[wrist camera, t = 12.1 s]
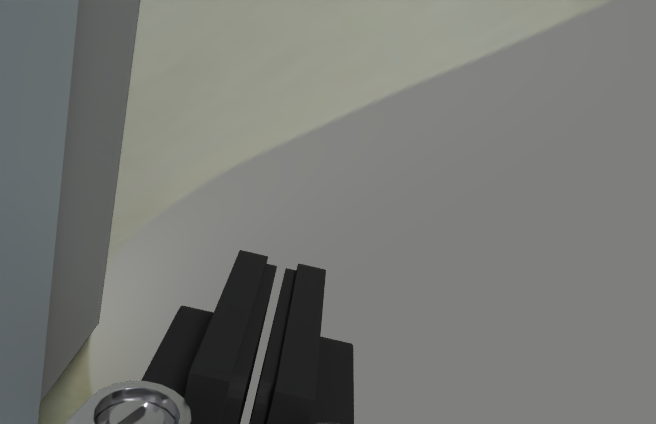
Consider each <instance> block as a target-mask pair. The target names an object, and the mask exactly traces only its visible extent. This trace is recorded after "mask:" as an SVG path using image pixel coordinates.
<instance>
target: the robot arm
mask: <svg viewBox="0 0 656 424" xmlns="http://www.w3.org/2000/svg"><path fill="white" fill-rule="evenodd" d="M267 259H268V257H267V256H263V255H259V254H255V253H251V252H246V251H242V250H240V251H239V254H238V256H237V258H236V261H235V263H234V266H233V268H232V271H231V273H230V275H229V278H228V280H227V283H226V285H225V287H224V290H223V292H222V295H221V297H220V299H219V302H218V304H217V307H216V309H215V311H214V313H213V312H208V311H204V310H200V309H195V308H191V307H186V306H181V307H180V309H179V310H178V312H177V314H176V316H175V318H174V320H173V321H172V323H171V325H170V327H169V329H168V331H167V333H166V335H165V337H164V339H163V341H162V342H161V344H160V346H159V348H158V350H157V352H156V354H155V356H154V357H153V360H152V361H151V363H150V365H149V367H148V369H147V371H146V372H145V375H144V377H143V378H142V380H141V381H126V382H120V383H115V384H112V385H110V386H107V387H105V388H102V389H100V390H99V391H97V392H96V393H95V394H94V395H92V396H91V397H90V398H89V399H88V400H87V401H86V402H85V403H84V404H83V405H82V406H81V407H80V408H79V410H78V411H77V412H76V413H75V414H74V415H73V416H72V417H71V418H70V419H69V420H68V422H67V423H66V424H240V422H241V418H242V414H243V410H244V406H245V402H246V397H247V393H248V389H249V385H250V381H251V376H252V372H253V368H254V364H255V359H256V355H257V351H258V346H259V341H260V337H261V333H262V329H263V325H264V320H265V316H266V312H267V307H268V303H269V299H270V294H271V290H272V286H273V281H274V277H275V273H276V268H277V266H274V265H269V264H267ZM325 274H326V270H324V269H320V268H316V267H311V266H307V265H303V264H298V267H297V270H291V269H287V268H286V270H285V274H284V278H283V282H282V287H281V291H280V295H279V300H278V304H277V308H276V312H275V316H274V320H273V325H272V329H271V333H270V337H269V341H268V346H267V350H266V354H265V358H264V362H263V367H262V371H261V375H260V379H259V384H258V388H257V392H256V396H255V401H254V405H253V409H252V414H251V418H250V423H249V424H354V391H353V390H354V383H353V345H352V344H351V343H346V342H342V341H338V340H333V339H328V338H324V337H320V332H321V321H322V308H323V298H324V286H325Z"/></svg>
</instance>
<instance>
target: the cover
mask: <svg viewBox="0 0 656 424" xmlns="http://www.w3.org/2000/svg"><path fill="white" fill-rule="evenodd" d="M78 2H79V0H0V424H38V419H39V408H40V398H41V388H42V377H43V367H44V356H45V346H46V336H47V325H48V315H49V304H50V294H51V283H52V273H53V263H54V252H55V242H56V231H57V221H58V210H59V200H60V190H61V179H62V169H63V158H64V148H65V137H66V127H67V117H68V106H69V96H70V85H71V75H72V64H73V54H74V44H75V33H76V23H77V12H78Z"/></svg>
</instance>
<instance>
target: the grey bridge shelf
mask: <svg viewBox="0 0 656 424" xmlns="http://www.w3.org/2000/svg"><path fill="white" fill-rule="evenodd" d="M139 5H140V0H79V2H78V12H77V23H76V33H75V44H74V54H73V64H72V75H71V85H70V96H69V106H68V117H67V127H66V137H65V148H64V158H63V169H62V179H61V190H60V200H59V210H58V221H57V231H56V242H55V252H54V263H53V273H52V283H51V294H50V304H49V315H48V325H47V336H46V346H45V356H44V367H43V377H42V388H41V398H40V403H41V401H42V400H43V399H44V397H45V396H46V394H47V393H48V392H49V390H50V389H51V388H52V386H53V385H54V383H55V382H56V381H57V379H58V378H59V377H60V375H61V374H62V373H63V371H64V370H65V368H66V367H67V366H68V364H69V363H70V362H71V360H72V359H73V358H74V356H75V355H76V353H77V352H78V351H79V349H80V348H81V347H82V345H83V344H84V343H85V341H86V340H87V338H88V337H89V336H90V334H91V333H92V332H93V330H94V329H95V327H96V326H97V325H98V323H99V318H100V310H101V302H102V294H103V287H104V279H105V271H106V263H107V256H108V248H109V240H110V232H111V224H112V216H113V209H114V201H115V193H116V185H117V177H118V170H119V162H120V154H121V146H122V138H123V130H124V123H125V115H126V107H127V99H128V91H129V84H130V76H131V68H132V60H133V52H134V44H135V37H136V29H137V21H138V13H139Z"/></svg>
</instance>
